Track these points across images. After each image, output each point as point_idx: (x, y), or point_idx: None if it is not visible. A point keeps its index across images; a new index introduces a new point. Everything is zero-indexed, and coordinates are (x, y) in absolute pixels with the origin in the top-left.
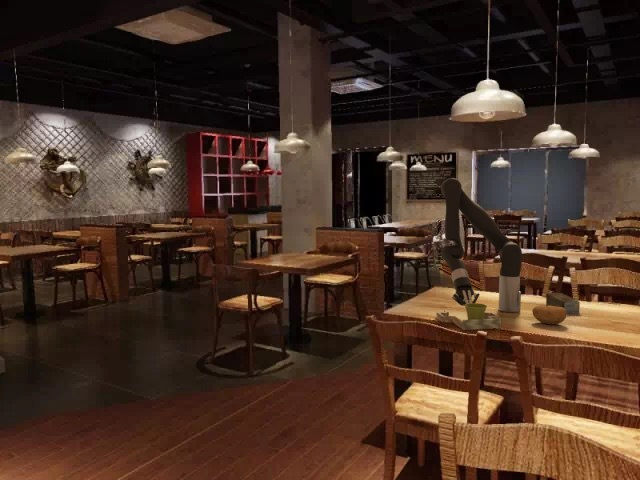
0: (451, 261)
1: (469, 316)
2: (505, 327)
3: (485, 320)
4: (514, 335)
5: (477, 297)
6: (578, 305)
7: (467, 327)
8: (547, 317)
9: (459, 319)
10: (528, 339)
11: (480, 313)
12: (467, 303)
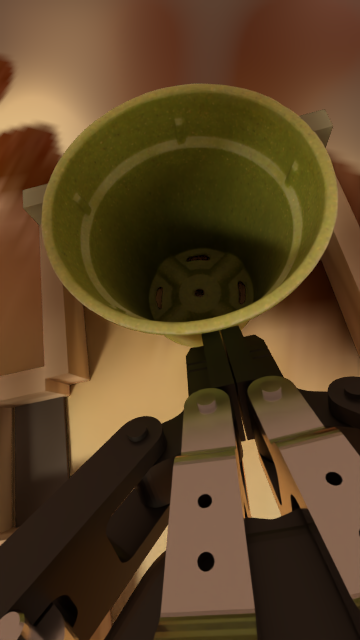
0: None
1: (259, 220)
2: (19, 256)
3: None
4: (40, 125)
5: (22, 537)
6: None
7: None
8: None
9: (345, 250)
10: (6, 86)
11: (161, 167)
12: (269, 385)
